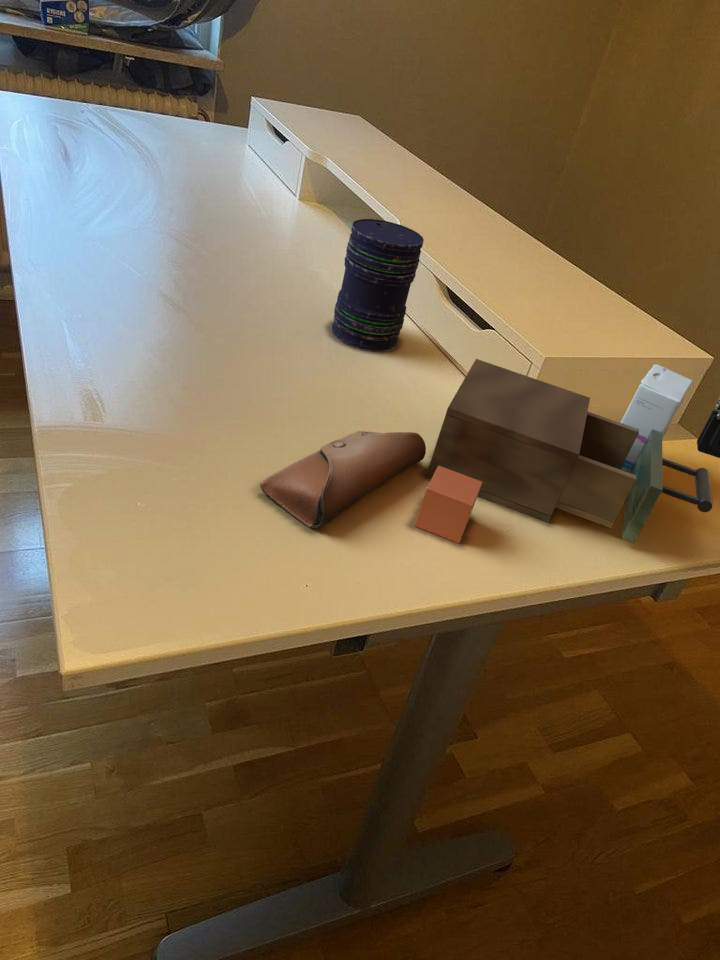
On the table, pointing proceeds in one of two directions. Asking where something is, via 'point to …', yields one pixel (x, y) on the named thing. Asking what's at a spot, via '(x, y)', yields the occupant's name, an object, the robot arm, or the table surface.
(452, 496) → the block
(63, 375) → the table surface
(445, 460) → the cabinet
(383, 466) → the sunglasses case
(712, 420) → the robot arm
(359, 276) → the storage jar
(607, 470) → the drawer
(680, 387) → the ink box
